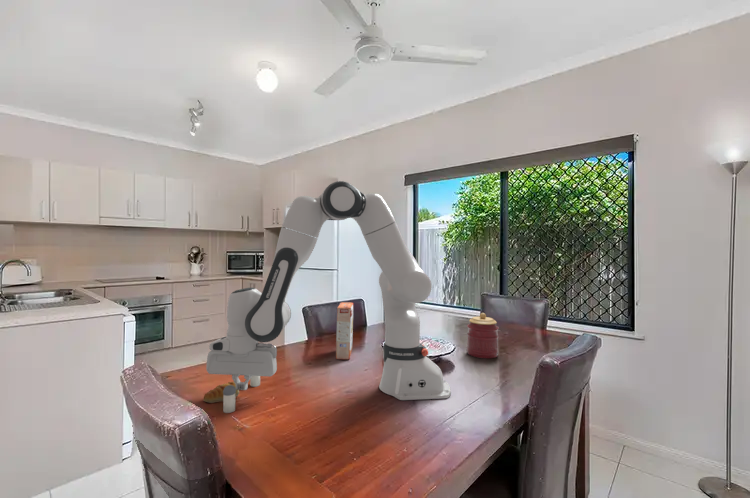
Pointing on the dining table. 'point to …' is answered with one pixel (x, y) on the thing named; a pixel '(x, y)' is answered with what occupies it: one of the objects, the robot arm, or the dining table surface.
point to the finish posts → (230, 394)
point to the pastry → (218, 393)
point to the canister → (482, 337)
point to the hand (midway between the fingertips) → (241, 389)
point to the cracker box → (344, 330)
